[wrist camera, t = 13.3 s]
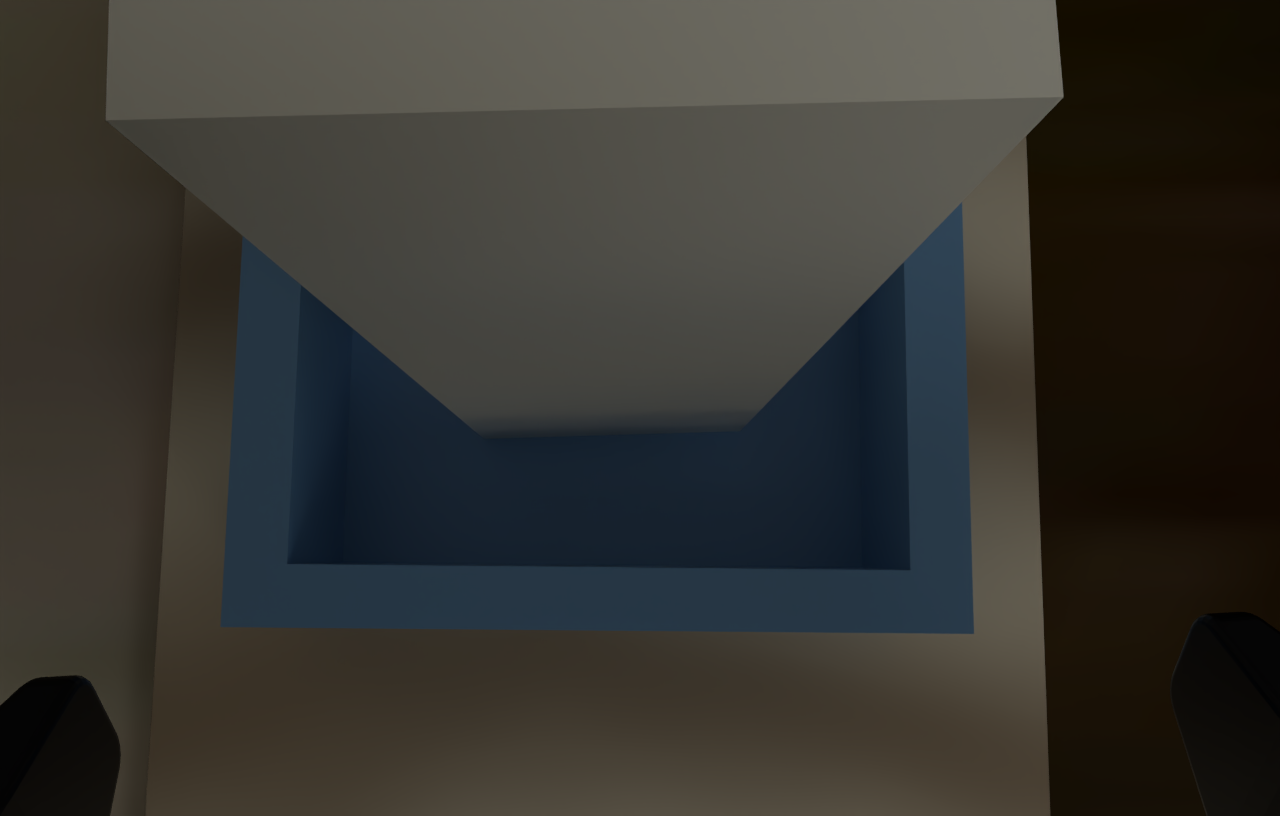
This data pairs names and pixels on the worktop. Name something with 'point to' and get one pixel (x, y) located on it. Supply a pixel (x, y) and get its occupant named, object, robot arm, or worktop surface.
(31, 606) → the worktop surface
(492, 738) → the board
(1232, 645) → the robot arm
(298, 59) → the connector column
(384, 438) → the box
